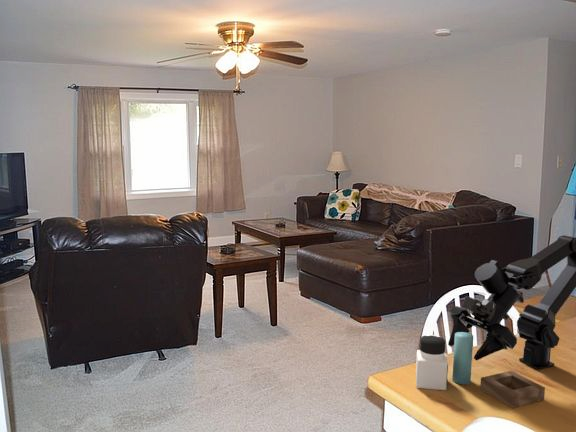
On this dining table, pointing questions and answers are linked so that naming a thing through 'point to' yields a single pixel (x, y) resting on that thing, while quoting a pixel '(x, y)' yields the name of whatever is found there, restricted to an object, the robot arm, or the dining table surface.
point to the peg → (462, 358)
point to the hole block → (513, 398)
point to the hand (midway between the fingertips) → (461, 352)
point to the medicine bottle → (431, 363)
